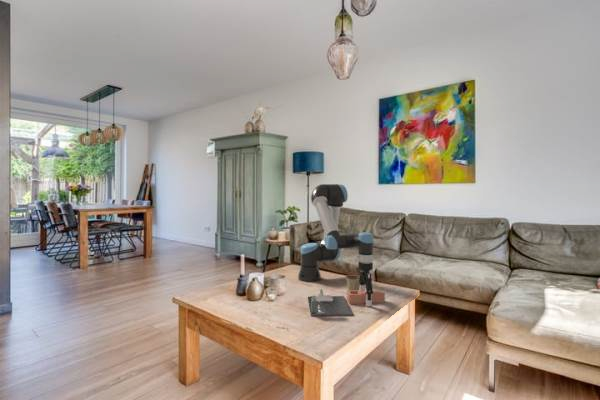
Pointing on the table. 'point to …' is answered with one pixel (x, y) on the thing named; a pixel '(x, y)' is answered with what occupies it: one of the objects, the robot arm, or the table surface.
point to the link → (364, 296)
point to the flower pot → (353, 282)
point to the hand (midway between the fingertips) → (365, 301)
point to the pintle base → (328, 305)
